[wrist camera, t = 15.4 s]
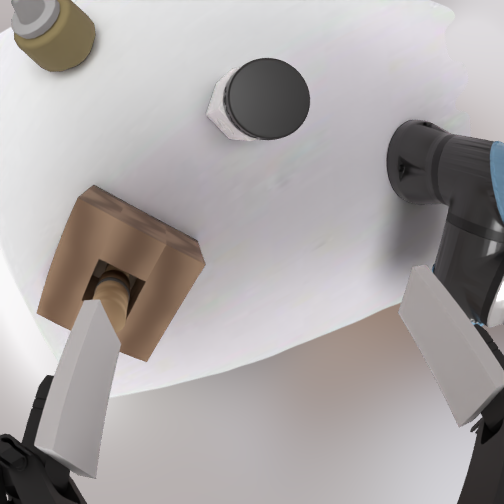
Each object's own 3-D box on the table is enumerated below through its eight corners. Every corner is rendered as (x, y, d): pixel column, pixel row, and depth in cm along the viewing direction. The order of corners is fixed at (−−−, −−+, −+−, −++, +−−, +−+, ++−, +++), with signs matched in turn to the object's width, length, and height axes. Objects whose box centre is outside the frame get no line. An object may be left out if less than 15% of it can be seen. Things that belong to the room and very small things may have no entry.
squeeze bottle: (35, 72, 26) (-37, 42, 10) (61, 18, 24) (10, -39, 8) (85, 82, 29) (30, 47, 13) (111, 27, 27) (82, -40, 11)
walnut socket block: (197, 240, 41) (205, 264, 34) (146, 327, 44) (146, 362, 37) (93, 184, 34) (77, 197, 27) (53, 283, 37) (36, 313, 30)
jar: (192, 104, 34) (205, 90, 23) (239, 64, 34) (270, 39, 23) (239, 152, 38) (270, 161, 28) (283, 112, 38) (328, 108, 27)
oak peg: (139, 260, 39) (132, 311, 28) (126, 285, 39) (118, 340, 29) (111, 247, 37) (94, 294, 26) (100, 272, 38) (82, 325, 27)
